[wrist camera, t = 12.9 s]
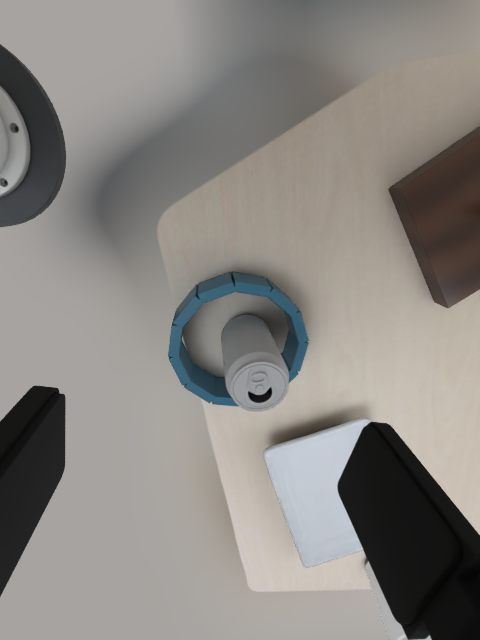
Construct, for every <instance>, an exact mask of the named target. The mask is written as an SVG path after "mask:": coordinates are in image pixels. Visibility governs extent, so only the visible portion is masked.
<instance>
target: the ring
mask: <svg viewBox="0 0 480 640" xmlns="http://www.w3.org/2000/svg"><path fill="white" fill-rule="evenodd" d="M233 292H239V293H246V294H252V295H259V296H265V297H268V298H270V299H271V300H272V301H273V302H274V303H276V304H277V305H278V306H279V307H280V308H282V309H283V310H284V312H285V315H286V318H287V322H288V325H289V332H288V336H287V339H286V343H285V347H284V350H283V353H282V354H281V356H282V358H283V360H284V362H285V364H286V366H287V369H288V372H289V382H288V383H290V382H291V381H292V380H293V379H294V378H295V377H296V376H297V375H298V372H297V371H300V369H301V366H302V363H303V360H304V356H305V353H306V350H307V346H308V342H307V341H309V340H308V336H307V333H306V329H305V326H304V322H303V319H302V315H301V312H300V311H299V309H298V308H297V306H296V305H295V304H294V303H293V301H292V300H291V299H290V298H289V297H288V296H287V295H286V294H285V293H283V292H282V291H281V290H280V289H279V288H278V287H276V286H275V285H274V284H273V283H272V282H271V281H270V280H268V279H267V278H266V279H265V278H264V277H262V276H256V275H250V274H244V273H238V272H232V276H231V274H230V272H228V273H225V274H223V275H220V276H217V277H214V278H212V279H209V280H206V281H204V282H201V283H199V286H197V285H196V286H195V287H194V288H193V290H192V291H191V292H190V293H189V295H188V296H187V297H186V298H185V299H184V301H183V302H182V303H181V304H180V305H179V307H178V308H177V310H176V312H175V316H174V319H173V323H172V327H171V336H170V345H169V354H168V357H169V361H170V363H171V364H172V366H173V368H174V370H175V372H176V374H177V376H178V378H179V380H180V382H181V384H182V385H185V386H184V387H185V388H186V389H188V390H189V391H191V392H192V393H194V394H196V395H197V396H199V397H200V398H202V399H204V400H205V401H207V402H209V403H211V402H212V404H217V405H228V406H238V405H237V404H236V403H235V402H234V400H233V398H232V397H231V396H230V394H229V393H228V391H227V388H226V382H225V378H221V377H214V376H212V375H211V374H209V373H208V372H206V371H205V370H203V369H202V368H200V367H199V366H197V365H196V364H194V363H193V362H192V360H191V358H190V356H189V354H188V352H187V350H186V348H185V346H184V344H183V342H182V334H183V327H184V325H185V324H186V323H187V322H188V321H189V320H190V318H191V317H192V316H193V315H194V314H195V312H196V311H197V310H198V309H199V308H200V307H201V305H202V304H203V303H206V302H208V301H211V300H214V299H217V298H219V297H222V296H225V295H227V294H230V293H233ZM239 407H240V406H239Z"/></svg>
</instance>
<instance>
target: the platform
mask: <svg viewBox="0 0 480 640" xmlns="http://www.w3.org/2000/svg"><path fill="white" fill-rule="evenodd" d="M388 190H389V192H390V195H391V197H392V200H393V202H394V204H395V207H396V209H397V212H398V214H399V217H400V219H401V222H402V224H403V226H404V229H405V231H406V234H407V236H408V239H409V241H410V244H411V246H412V248H413V251H414V253H415V256H416V258H417V261H418V263H419V266H420V268H421V270H422V273H423V275H424V278H425V280H426V283H427V285H428V288H429V290H430V292H431V295H432V297H433V300H434V302H435V303H437V304H440V305H442V306H444V307H446V308H449V307H451V306H453V305H454V304H456V303H458V302H459V301H461V300H463V299H464V298H466V297H468V296H469V295H471V294H473V293H474V292H476V291H478V290H479V289H480V127H478V128H477V129H475V130H474V131H472V132H471V133H469V134H468V135H466V136H465V137H463V138H462V139H461V140H459V141H458V142H456V143H455V144H453V145H452V146H450V147H449V148H447V149H446V150H444V151H443V152H442V153H440V154H439V155H437V156H436V157H434V158H433V159H431V160H430V161H428V162H427V163H425V164H424V165H423V166H421V167H420V168H418V169H417V170H415V171H414V172H412V173H411V174H409V175H408V176H406V177H405V178H404V179H402V180H401V181H399V182H398V183H396V184H395V185H393V186H392V187H390V188H389V189H388Z"/></svg>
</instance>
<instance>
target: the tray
mask: <svg viewBox="0 0 480 640" xmlns="http://www.w3.org/2000/svg"><path fill="white" fill-rule="evenodd" d="M370 422H371V421H370V420H369V419H368V418H366V417H362V418H358V419H355V420H352V421H349V422H346V423H343V424H340V425H337V426H335V427H331V428H328V429H325V430H322V431H319V432H316V433H313V434H310V435H307V436H304V437H300V438H297V439H293V440H290V441H287V442H283V443H280V444H276V445H273V446H270V447H268V448H266V449H265V450H264V451H263V455H264V460H265V463H266V466H267V469H268V472H269V475H270V478H271V481H272V483H273V486H274V489H275V492H276V495H277V497H278V500H279V503H280V506H281V509H282V511H283V514H284V517H285V519H286V522H287V525H288V527H289V530H290V532H291V535H292V538H293V540H294V543H295V545H296V548H297V551H298V553H299V556H300V559H301V561H302V564H303V566H304V567H305V568H309V567H313V566H316V565H319V564H322V563H325V562H328V561H331V560H335V559H338V558H341V557H344V556H347V555H350V554H354V553H357V552H360V551H363V548H362V545H361V543H360V541H359V539H358V537H357V534H356V532H355V530H354V528H353V525H352V523H351V521H350V519H349V516H348V514H347V512H346V510H345V507H344V505H343V503H342V501H341V499H340V496H339V494H338V490H337V485H338V481H339V479H340V477H341V474H342V472H343V470H344V468H345V466H346V464H347V461H348V459H349V457H350V455H351V453H352V451H353V448H354V446H355V444H356V442H357V440H358V438H359V435H360V433H361V431H362V429H363V427H365V426H367V425H368V423H370Z"/></svg>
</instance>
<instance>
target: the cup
mask: <svg viewBox="0 0 480 640" xmlns="http://www.w3.org/2000/svg"><path fill="white" fill-rule="evenodd" d="M365 570H366V573H367V576H368V579H369V582H370V585H371V588H372V591H373V594H374V597H375V600H376V603H377V606H378V609H379V612H380V615H381V618H382V620H383V624H384V627H385V629H386V632H387V635H388V638H389V640H408V639H407V637H406V635H405V633H404V630H403V628H402V626H401V624H399V623H398V622H397V621H396V620H395V618H394V616H393V615H392V613H391V610H390V608H389V606H388V604H387V601H386V599H385V597H384V595H383V592H382V590H381V588H380V586H379V584H378V581H377V579H376V577H375V575H374V572H373V570H372V568H371V566H370V563H369V561H368V559H366V566H365ZM414 640H432V639H431V637H430V635H429V636H428V637H427V638H426V639H414Z"/></svg>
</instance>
